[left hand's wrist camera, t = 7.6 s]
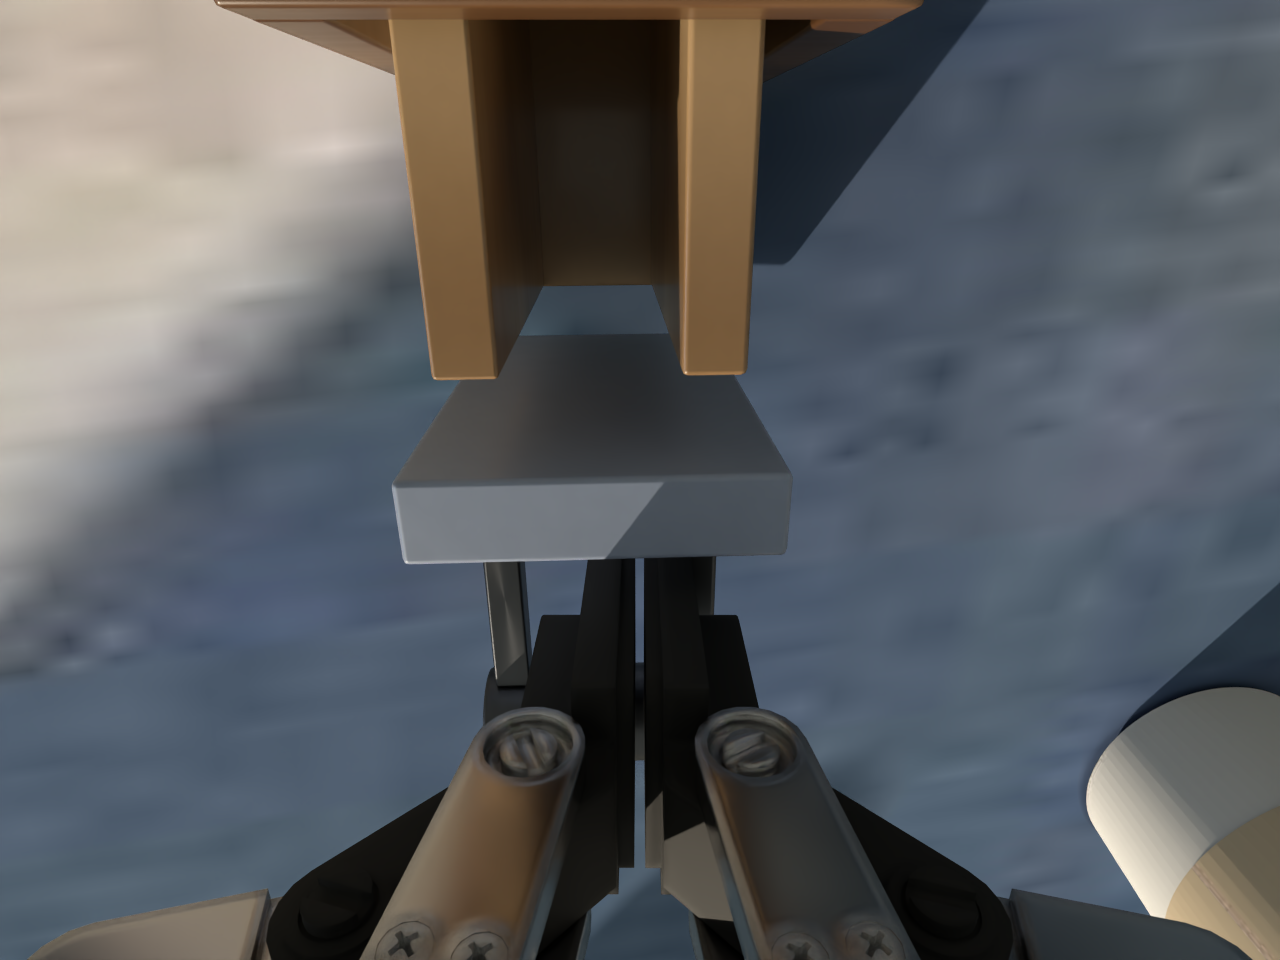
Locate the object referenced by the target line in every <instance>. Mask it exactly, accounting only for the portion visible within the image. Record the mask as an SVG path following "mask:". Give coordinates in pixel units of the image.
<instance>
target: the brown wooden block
mask: <svg viewBox="0 0 1280 960" xmlns="http://www.w3.org/2000/svg"><path fill="white" fill-rule="evenodd" d="M214 1H215V3H216V5H217V6H220V7H222V8H224V9H227V10H229V11H232V12H235V13H237V14H240V15H242V16H245V17H248V18H250V19H253V20H254V21H257V22H259V23H262V24H264V25H267V26H269V27H272V28H275V29H277V30H280V31H282V32H285V33H288V34H290V35H293V36H295V37H298V38H300V39H303V40H306V41H308V42H311V43H313V44H316V45H319V46H321V47H324V48H326V49H329V50H332V51H334V52H337V53H339V54H342V55H344V56H347V57H350V58H352V59H355V60H357V61H360V62H363V63H365V64H368V65H370V66H373V67H375V68H378V69H381V70H383V71H386V72H388V73H391V74H394V75H395V70H394V62H393V54H392V46H391V38H390V30H389V21H388V20H622V19H766V28H765V47H764V66H763V82H765V81H767V80H770V79H772V78H774V77H776V76H778V75H780V74H782V73H784V72H786V71H788V70H790V69H793V68H795V67H797V66H799V65H801V64H803V63H805V62H807V61H809V60H811V59H813V58H816V57H818V56H820V55H822V54H824V53H826V52H828V51H830V50H832V49H834V48H837V47H839V46H841V45H843V44H845V43H847V42H849V41H851V40H853V39H855V38H857V37H860V36H862V35H864V34H866V33H868V32H870V31H872V30H874V29H876V28H878V27H880V26H883V25H885V24H887V23H889V22H891V21H893V20H895V18H897V17H899V16H901V15H903V14H905V13H907V12H909V11H911V10H914V9H916V8H918V7H920V6H922V4H923V2H924V0H214Z"/></svg>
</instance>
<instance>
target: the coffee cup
mask: <svg viewBox="0 0 1280 960" xmlns="http://www.w3.org/2000/svg"><path fill="white" fill-rule="evenodd" d="M1086 801H1087V810H1088V814H1089V817H1090V819H1091V821H1092V823H1093V825H1094V827H1095V828H1096V830H1097V831H1098V833H1099V834H1100V836H1101V838H1102V839H1103V841H1104V842H1105V844H1106V846H1107V847H1108V849H1109V850H1110V852H1111V853H1112V855H1113V857H1114V858H1115V860H1116V861H1117V863H1118V864H1119V866H1120V868H1121V869H1122V871H1123V872H1124V874H1125V875H1126V877H1127V879H1128V880H1129V882H1130V883H1131V885H1132V887H1133V888H1134V890H1135V891H1136V893H1137V894H1138V896H1139V898H1140V899H1141V901H1142V902H1143V904H1144V905H1145V907H1146V909H1147V910H1148V912H1149V913H1150V915H1151V916H1154V917H1160V918H1165V919H1170V920H1175V921H1180V922H1185V923H1188V924H1191V925H1194V926H1197V927H1200V928H1203V929H1206V930H1209V931H1212V932H1213V933H1215V934H1217V935H1219V936H1220V937H1222V938H1224V939H1226V940H1227V941H1229V942H1231V943H1232V944H1234V945H1236V946H1238V947H1239V948H1240V949H1241V950H1242V951H1243V952H1245V953H1246V954H1247V955H1248V956H1249V957H1250V958H1251V959H1253V960H1280V696H1278V695H1275V694H1273V693H1270V692H1267V691H1263V690H1259V689H1253V688H1244V687H1227V688H1217V689H1210V690H1205V691H1201V692H1196V693H1193V694H1189V695H1186V696H1183V697H1180V698H1178V699H1175V700H1173V701H1170V702H1168V703H1166V704H1164V705H1162V706H1160V707H1158V708H1156V709H1154V710H1152V711H1150V712H1149V713H1147V714H1146V715H1144V716H1142V717H1141V718H1139V719H1138V720H1137V721H1135V722H1134V723H1133V724H1131V725H1130V726H1129V727H1127V728H1126V729H1125V730H1124V731H1123V732H1122V733H1121V734H1120V735H1119V736H1117V738H1116V739H1115V740H1114V741H1113V742H1112V743H1111V744H1110V745H1109V746H1108V747H1107V749H1106V750H1105V751H1104V753H1103V754H1102V756H1101V757H1100V759H1099V760H1098V762H1097V764H1096V765H1095V767H1094V770H1093V772H1092V774H1091V777H1090V780H1089V783H1088V788H1087V796H1086Z"/></svg>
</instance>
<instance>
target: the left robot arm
mask: <svg viewBox="0 0 1280 960" xmlns="http://www.w3.org/2000/svg"><path fill="white" fill-rule="evenodd" d="M644 759H645V866H646V868H660V869H661V894H672V895H673V896H674V897H675V898H676V899H678V900H679V901H680V902H681V903H682V904H683V905H685V906H686V907H687V908H688V909H689V932H690V936H691V940H692V945H693V949H694V954H695V958H696V960H1253V959H1251V958H1250V957H1249V956H1248V955H1247V954H1246V953H1245V952H1243V951H1242V950H1241V949H1240V948H1239V947H1238V946H1236V945H1234V944H1232V943H1231V942H1229V941H1227V940H1226V939H1224V938H1222V937H1220V936H1219V935H1217V934H1215V933H1213V932H1212V931H1209V930H1206V929H1203V928H1200V927H1197V926H1194V925H1191V924H1188V923H1185V922H1180V921H1175V920H1170V919H1165V918H1160V917H1154V916H1149V915H1144V914H1139V913H1134V912H1129V911H1124V910H1119V909H1114V908H1109V907H1103V906H1098V905H1093V904H1088V903H1083V902H1078V901H1073V900H1068V899H1063V898H1058V897H1053V896H1047V895H1042V894H1037V893H1032V892H1027V891H1022V890H1017V889H1012V890H1011V894H1010V897H1009V899H1007V898H1002V897H996V895H995V894H994V893H993V892H992V891H991V890H990V888H989V887H988V886H987V885H986V884H985V883H983V882H982V881H981V880H979V879H978V878H977V877H976V876H974V875H973V874H972V873H970V872H969V871H968V870H966V869H964V868H963V867H961V866H959V865H958V864H956V863H955V862H953V861H951V860H950V859H948V858H946V857H945V856H943V855H941V854H940V853H938V852H937V851H935V850H933V849H932V848H930V847H928V846H927V845H925V844H923V843H922V842H920V841H919V840H917V839H915V838H914V837H912V836H910V835H909V834H907V833H905V832H904V831H902V830H901V829H899V828H897V827H896V826H894V825H892V824H891V823H889V822H887V821H886V820H884V819H883V818H881V817H879V816H878V815H876V814H874V813H873V812H871V811H870V810H868V809H866V808H865V807H863V806H861V805H860V804H858V803H856V802H855V801H853V800H852V799H850V798H848V797H847V796H845V795H843V794H842V793H840V792H838V791H837V790H835V789H834V788H832V787H831V785H830V783H829V781H828V779H827V777H826V776H825V774H824V772H823V770H822V768H821V766H820V764H819V762H818V760H817V758H816V756H815V754H814V752H813V750H812V748H811V746H810V745H809V743H808V741H807V739H806V737H805V736H804V735H803V733H802V732H801V731H800V729H799V728H798V727H797V726H796V725H795V724H793V723H792V722H791V721H789V720H788V719H787V718H785V717H783V716H781V715H779V714H776V713H774V712H772V711H769V710H765V709H760V708H759V706H758V702H757V698H756V693H755V689H754V684H753V680H752V676H751V671H750V667H749V662H748V658H747V654H746V649H745V645H744V640H743V636H742V632H741V627H740V623H739V619H738V616H737V615H699V611H698V604H697V596H696V589H695V582H694V575H693V567H692V560H691V557H667V558H644ZM634 816H635V558H628V559H589V560H588V563H587V570H586V578H585V585H584V592H583V599H582V607H581V614H580V615H543V616H542V617H541V621H540V625H539V629H538V634H537V638H536V642H535V647H534V651H533V656H532V660H531V664H530V669H529V673H528V678H527V682H526V687H525V691H524V695H523V700H522V704H521V708H520V709H515V710H511V711H508V712H506V713H504V714H501V715H499V716H497V717H495V718H493V719H492V720H491V721H489V722H488V723H487V724H485V725H484V726H483V727H482V728H481V729H480V731H479V732H478V733H477V735H476V736H475V737H474V739H473V741H472V743H471V745H470V746H469V748H468V750H467V752H466V754H465V756H464V758H463V760H462V762H461V764H460V766H459V768H458V770H457V772H456V774H455V776H454V777H453V779H452V781H451V783H450V785H449V787H448V788H446V789H444V790H443V791H441V792H439V793H438V794H436V795H435V796H433V797H431V798H430V799H428V800H426V801H425V802H423V803H421V804H420V805H418V806H417V807H415V808H413V809H412V810H410V811H408V812H407V813H405V814H404V815H402V816H400V817H399V818H397V819H395V820H394V821H392V822H390V823H389V824H387V825H386V826H384V827H382V828H381V829H379V830H377V831H376V832H374V833H372V834H371V835H369V836H368V837H366V838H364V839H363V840H361V841H359V842H358V843H356V844H355V845H353V846H351V847H350V848H348V849H346V850H345V851H343V852H341V853H340V854H338V855H337V856H335V857H333V858H332V859H330V860H328V861H327V862H325V863H324V864H322V865H320V866H319V867H317V868H315V869H314V870H312V871H311V872H309V873H308V874H307V875H306V876H304V877H303V878H302V879H300V880H299V881H298V882H296V883H295V884H294V885H293V886H292V887H291V888H290V889H289V890H288V892H287V893H286V894H285V895H284V896H283V897H278V898H273V899H271V898H270V895H269V891H268V889H263V890H258V891H253V892H248V893H243V894H237V895H232V896H227V897H222V898H217V899H212V900H207V901H202V902H197V903H192V904H187V905H181V906H176V907H171V908H166V909H161V910H156V911H151V912H146V913H141V914H136V915H131V916H126V917H120V918H115V919H110V920H105V921H100V922H95V923H92V924H89V925H86V926H83V927H80V928H77V929H74V930H71V931H68V932H66V933H65V934H63V935H61V936H59V937H58V938H56V939H54V940H53V941H51V942H49V943H47V944H46V945H44V946H42V947H41V948H40V949H39V950H38V951H36V952H35V953H34V954H33V955H32V956H31V957H29V958H28V959H27V960H584V958H585V954H586V949H587V945H588V940H589V936H590V932H591V908H592V907H594V906H595V905H596V904H597V903H598V902H599V901H601V900H602V899H603V898H604V897H605V896H606V895H608V894H618V887H619V868H634Z"/></svg>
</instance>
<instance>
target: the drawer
mask: <svg viewBox="0 0 1280 960" xmlns="http://www.w3.org/2000/svg"><path fill="white" fill-rule="evenodd" d="M388 21H389V30H390V38H391V46H392V54H393V62H394V70H395V79H396V87H397V95H398V103H399V111H400V120H401V128H402V136H403V144H404V152H405V160H406V169H407V177H408V185H409V193H410V201H411V209H412V218H413V226H414V234H415V242H416V250H417V259H418V267H419V275H420V283H421V291H422V299H423V308H424V316H425V324H426V332H427V340H428V348H429V357H430V365H431V373H432V377H433V379H436V380H460V381H459V383H458V384H457V386H456V387H455V389H454V390H453V392H452V393H451V395H450V396H449V398H448V399H447V401H446V402H445V404H444V405H443V407H442V409H441V410H440V412H439V413H438V415H437V416H436V418H435V419H434V421H433V422H432V424H431V425H430V427H429V428H428V430H427V431H426V433H425V434H424V436H423V437H422V439H421V440H420V442H419V443H418V445H417V446H416V448H415V449H414V451H413V453H412V454H411V456H410V457H409V459H408V460H407V462H406V463H405V465H404V466H403V468H402V469H401V471H400V472H399V474H398V475H397V477H396V478H395V480H394V481H393V484H392V491H393V497H394V504H395V510H396V517H397V523H398V530H399V536H400V543H401V549H402V556H403V560H404V561H405V563H407V564H433V563H472V562H483V565H484V575H485V584H486V594H487V603H488V613H489V622H490V632H491V642H492V651H493V661H494V667H493V668H492V669H491V670H490V672H489V675H488V678H487V682H486V688H485V696H484V710H483V726H484V725H485V724H487V723H488V722H489V721H491V720H492V719H493V718H495V717H497V716H499V715H501V714H504V713H506V712H508V711H511V710H515V709H520V708H521V704H522V700H523V695H524V691H525V687H526V682H527V678H528V673H529V669H530V664H531V660H532V648H531V635H530V623H529V610H528V597H527V585H526V572H525V561H550V560H589V559H628V558H667V557H691V560H692V567H693V575H694V582H695V589H696V596H697V604H698V611H699V615H714V599H715V574H716V556H746V555H781V554H784V553H785V551H786V549H787V541H788V529H789V517H790V505H791V493H792V481H793V477H792V474H791V472H790V470H789V469H788V467H787V465H786V463H785V462H784V460H783V458H782V457H781V455H780V453H779V451H778V450H777V448H776V446H775V444H774V443H773V441H772V439H771V438H770V436H769V434H768V432H767V431H766V429H765V427H764V426H763V424H762V422H761V420H760V419H759V417H758V415H757V414H756V412H755V410H754V408H753V407H752V405H751V403H750V402H749V400H748V398H747V396H746V395H745V393H744V391H743V389H742V388H741V386H740V384H739V383H738V381H737V379H736V377H735V376H734V375H741V374H743V373H745V372H746V370H747V366H748V347H749V329H750V310H751V291H752V272H753V254H754V235H755V216H756V197H757V178H758V160H759V141H760V122H761V103H762V85H763V66H764V47H765V28H766V19H622V20H388ZM596 285H652V286H653V289H654V292H655V295H656V297H657V300H658V303H659V306H660V309H661V312H662V314H663V317H664V320H665V323H666V326H667V329H668V332H669V334H612V335H546V336H519V334H520V332H521V330H522V328H523V326H524V324H525V322H526V320H527V318H528V316H529V314H530V312H531V310H532V308H533V306H534V304H535V302H536V300H537V298H538V296H539V294H540V292H541V290H542V288H543V286H596ZM637 760H645V759H644V662H642V663H635V761H637Z"/></svg>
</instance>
